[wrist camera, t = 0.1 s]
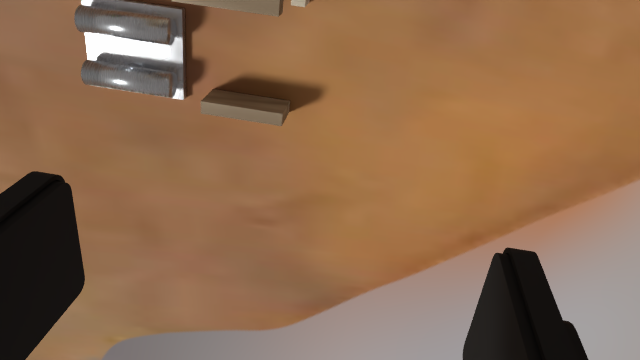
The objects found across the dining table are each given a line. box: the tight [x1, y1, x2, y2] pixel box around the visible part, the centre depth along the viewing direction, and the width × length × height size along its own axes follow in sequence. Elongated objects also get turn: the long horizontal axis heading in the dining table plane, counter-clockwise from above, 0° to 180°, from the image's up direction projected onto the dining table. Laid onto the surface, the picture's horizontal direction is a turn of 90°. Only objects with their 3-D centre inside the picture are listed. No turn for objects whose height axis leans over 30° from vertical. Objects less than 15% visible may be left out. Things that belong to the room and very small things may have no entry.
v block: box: [75, 0, 186, 100], centre depth 40 cm, size 8×7×3 cm
